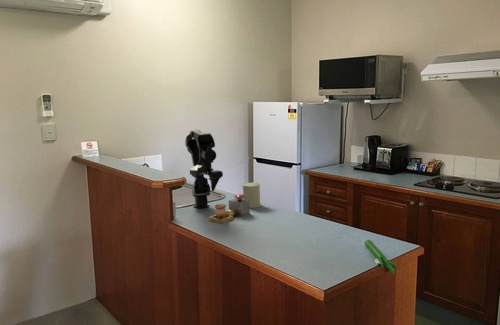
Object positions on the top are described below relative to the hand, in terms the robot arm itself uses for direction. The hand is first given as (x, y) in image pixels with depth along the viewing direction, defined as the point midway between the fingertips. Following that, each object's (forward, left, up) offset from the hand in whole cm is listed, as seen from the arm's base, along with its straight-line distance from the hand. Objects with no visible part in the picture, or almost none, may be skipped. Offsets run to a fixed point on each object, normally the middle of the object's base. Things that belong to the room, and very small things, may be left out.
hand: (206, 189), depth 203 cm
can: (+8, +24, -12) cm, 28 cm away
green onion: (+94, -4, -12) cm, 94 cm away
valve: (+14, +6, -12) cm, 19 cm away
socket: (+14, -4, -12) cm, 19 cm away
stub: (+14, -4, -12) cm, 19 cm away
